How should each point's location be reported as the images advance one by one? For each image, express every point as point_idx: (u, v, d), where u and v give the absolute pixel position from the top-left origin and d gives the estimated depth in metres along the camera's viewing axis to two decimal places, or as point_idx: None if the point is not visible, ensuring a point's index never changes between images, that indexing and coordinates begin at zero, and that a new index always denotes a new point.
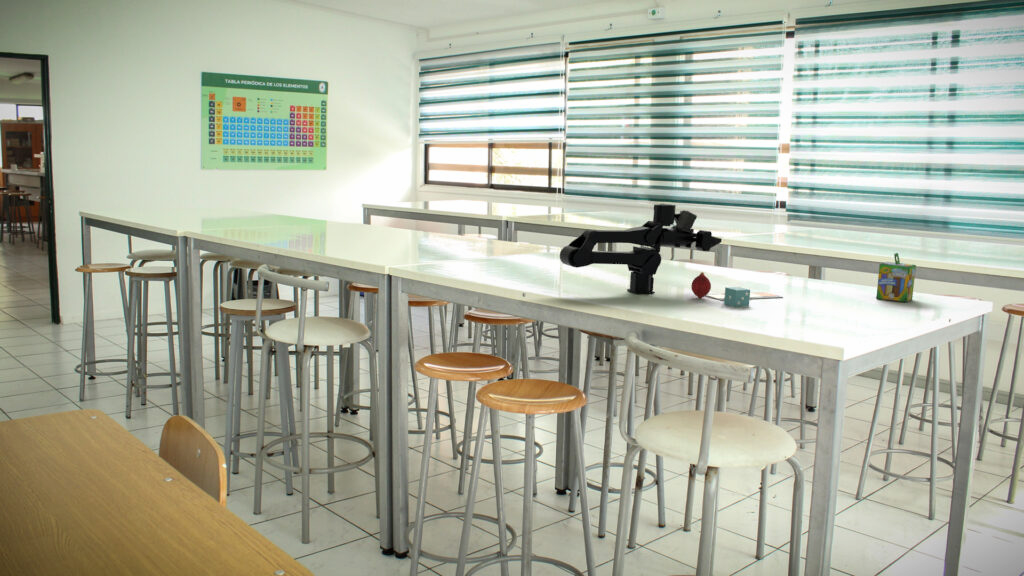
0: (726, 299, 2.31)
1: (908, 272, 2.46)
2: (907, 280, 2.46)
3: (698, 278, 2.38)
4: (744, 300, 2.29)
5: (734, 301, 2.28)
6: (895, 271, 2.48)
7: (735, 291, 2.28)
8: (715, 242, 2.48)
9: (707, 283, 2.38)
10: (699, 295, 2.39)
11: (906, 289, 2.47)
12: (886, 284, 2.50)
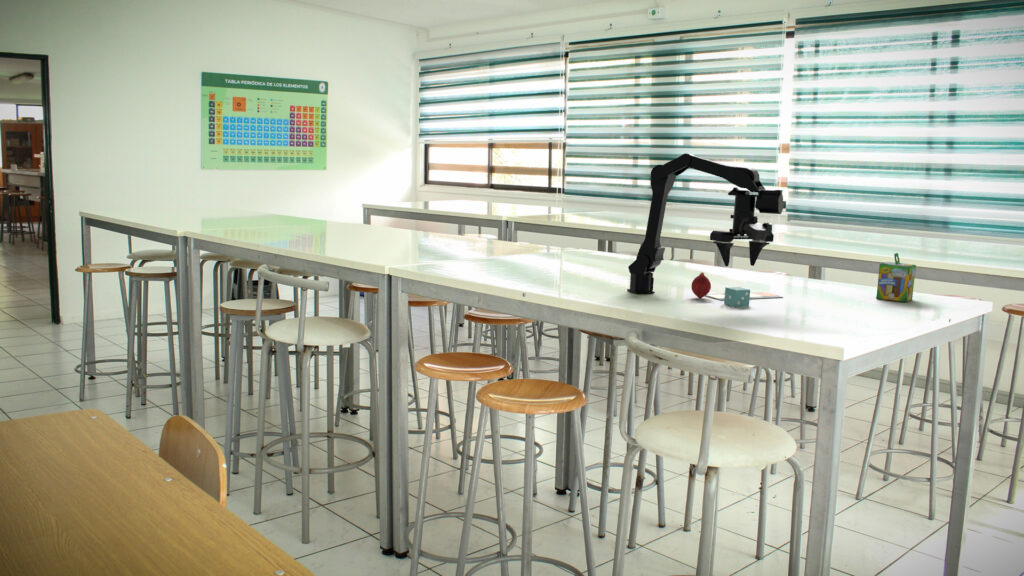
0: (726, 299, 2.31)
1: (908, 272, 2.46)
2: (907, 280, 2.46)
3: (698, 278, 2.38)
4: (744, 300, 2.29)
5: (734, 301, 2.28)
6: (895, 271, 2.48)
7: (735, 291, 2.28)
8: (723, 256, 2.27)
9: (707, 283, 2.38)
10: (699, 295, 2.39)
11: (906, 289, 2.47)
12: (886, 284, 2.50)
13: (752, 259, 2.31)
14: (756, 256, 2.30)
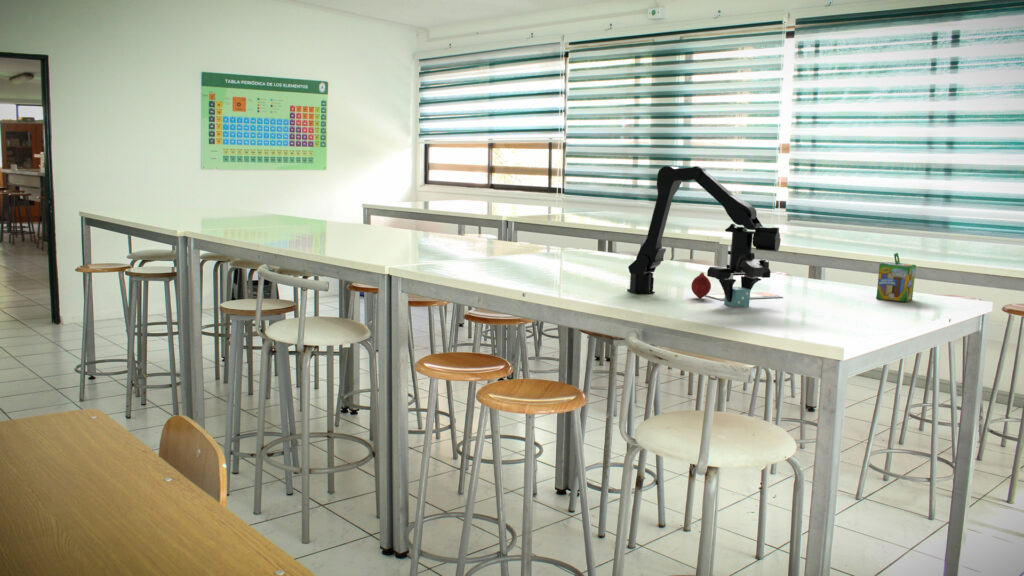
0: (726, 299, 2.31)
1: (908, 272, 2.46)
2: (907, 280, 2.46)
3: (698, 278, 2.38)
4: (744, 300, 2.29)
5: (734, 301, 2.28)
6: (895, 271, 2.48)
7: (735, 291, 2.28)
8: (725, 292, 2.30)
9: (707, 283, 2.38)
10: (699, 295, 2.39)
11: (906, 289, 2.47)
12: (886, 284, 2.50)
13: None
14: None
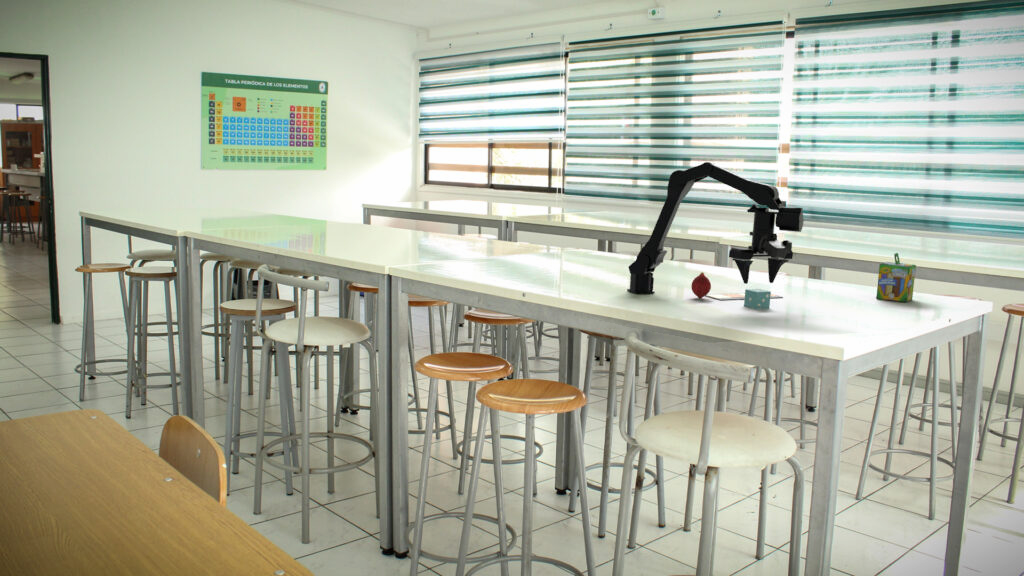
0: (746, 301, 2.29)
1: (908, 272, 2.46)
2: (907, 280, 2.46)
3: (698, 278, 2.38)
4: (764, 302, 2.27)
5: (755, 303, 2.26)
6: (895, 271, 2.48)
7: (756, 293, 2.26)
8: (742, 273, 2.26)
9: (707, 283, 2.38)
10: (699, 295, 2.39)
11: (906, 289, 2.47)
12: (886, 284, 2.50)
13: (771, 276, 2.29)
14: (775, 273, 2.29)
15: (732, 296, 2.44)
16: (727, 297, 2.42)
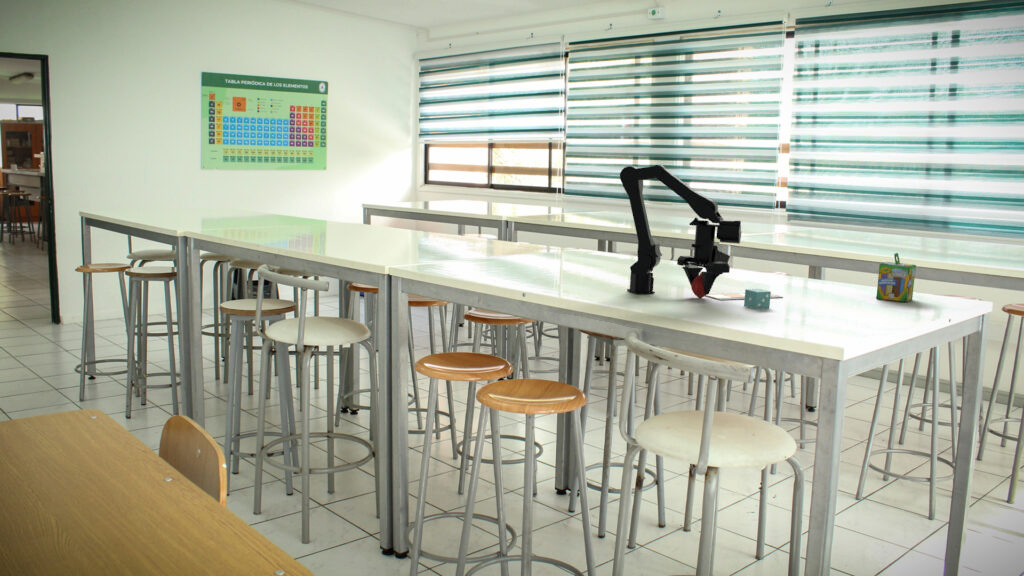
0: (746, 301, 2.29)
1: (908, 272, 2.46)
2: (907, 280, 2.46)
3: (698, 278, 2.38)
4: (764, 302, 2.27)
5: (755, 303, 2.26)
6: (895, 271, 2.48)
7: (755, 293, 2.26)
8: (708, 285, 2.36)
9: None
10: (699, 295, 2.39)
11: (906, 289, 2.47)
12: (886, 284, 2.50)
13: None
14: None
15: (732, 296, 2.44)
16: (727, 297, 2.42)
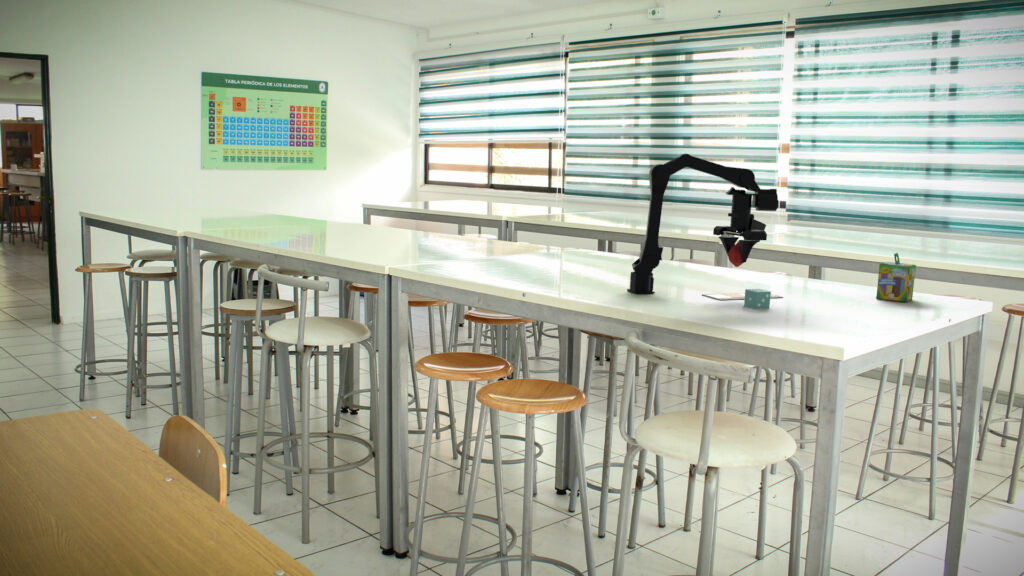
0: (746, 301, 2.29)
1: (908, 272, 2.46)
2: (907, 280, 2.46)
3: (735, 247, 2.42)
4: (764, 302, 2.27)
5: (755, 303, 2.26)
6: (895, 271, 2.48)
7: (755, 293, 2.26)
8: (745, 253, 2.39)
9: None
10: (736, 264, 2.42)
11: (906, 289, 2.47)
12: (886, 284, 2.50)
13: None
14: None
15: (732, 296, 2.44)
16: (727, 297, 2.42)
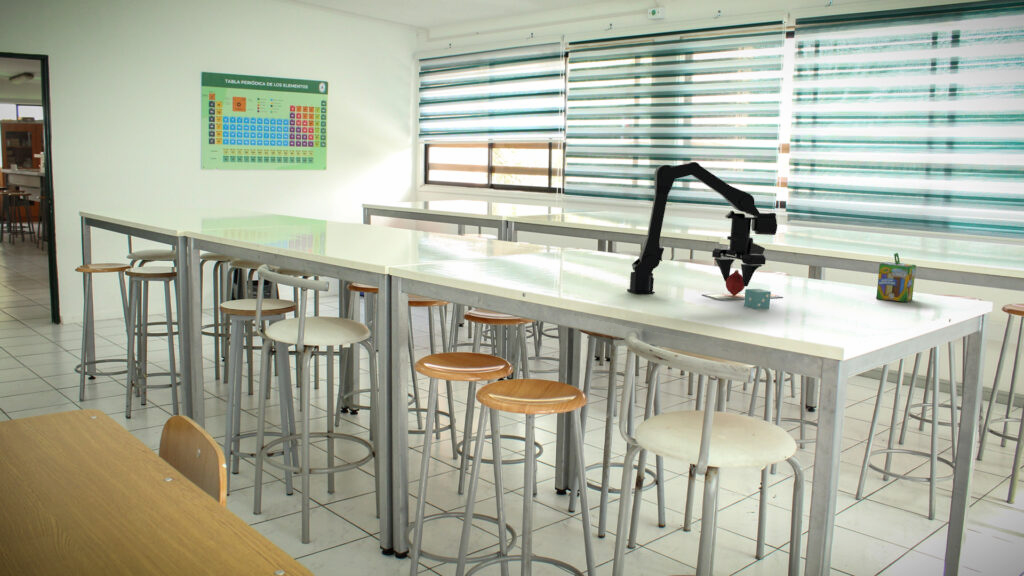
0: (746, 301, 2.29)
1: (908, 272, 2.46)
2: (907, 280, 2.46)
3: (733, 276, 2.43)
4: (764, 302, 2.27)
5: (755, 303, 2.26)
6: (895, 271, 2.48)
7: (755, 293, 2.26)
8: (747, 277, 2.39)
9: (742, 280, 2.43)
10: (733, 292, 2.44)
11: (906, 289, 2.47)
12: (886, 284, 2.50)
13: (727, 275, 2.49)
14: None
15: (732, 296, 2.44)
16: (727, 297, 2.42)
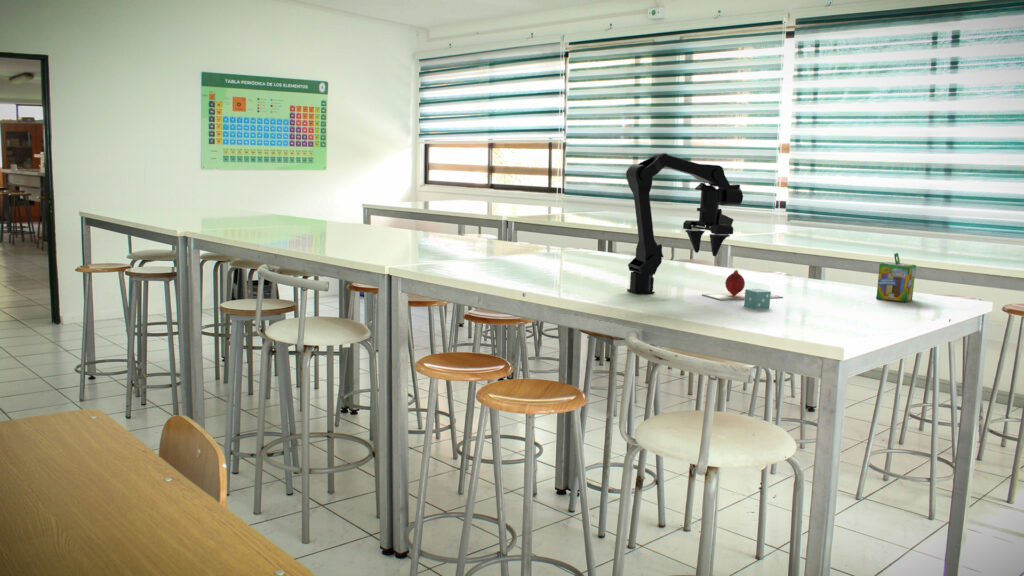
0: (746, 301, 2.29)
1: (908, 272, 2.46)
2: (907, 280, 2.46)
3: (732, 276, 2.44)
4: (764, 302, 2.27)
5: (755, 303, 2.26)
6: (895, 271, 2.48)
7: (755, 293, 2.26)
8: (715, 247, 2.46)
9: (741, 280, 2.43)
10: (733, 292, 2.44)
11: (906, 289, 2.47)
12: (886, 284, 2.50)
13: (697, 246, 2.56)
14: None
15: (732, 296, 2.44)
16: (727, 297, 2.42)
